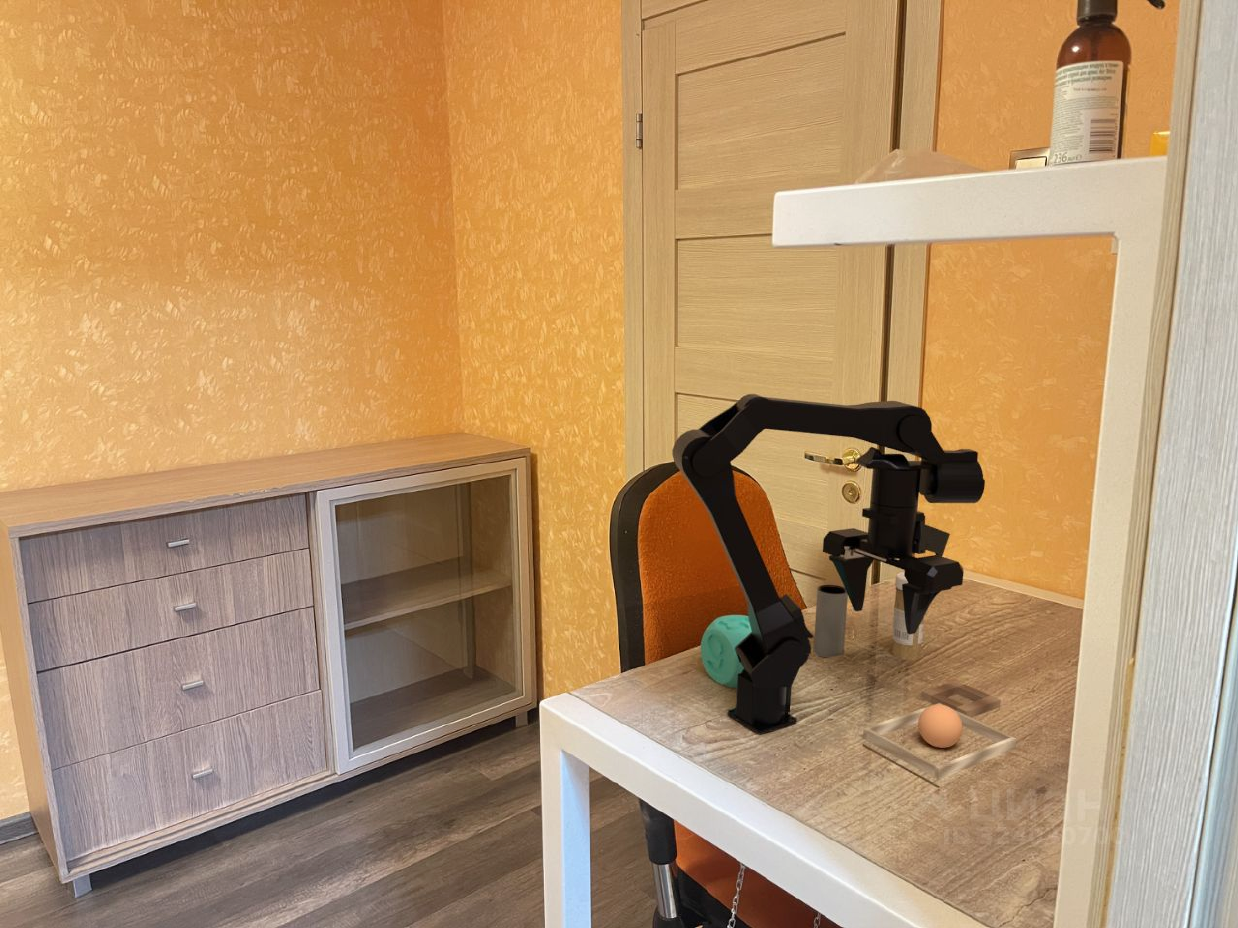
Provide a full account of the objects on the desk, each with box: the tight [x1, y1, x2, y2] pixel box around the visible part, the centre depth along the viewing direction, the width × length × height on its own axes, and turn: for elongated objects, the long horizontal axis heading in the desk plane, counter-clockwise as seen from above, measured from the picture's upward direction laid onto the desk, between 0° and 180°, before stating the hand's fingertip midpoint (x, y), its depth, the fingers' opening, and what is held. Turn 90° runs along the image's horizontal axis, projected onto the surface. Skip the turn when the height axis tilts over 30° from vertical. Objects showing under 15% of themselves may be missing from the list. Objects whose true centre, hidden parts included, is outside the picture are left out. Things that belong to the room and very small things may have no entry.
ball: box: [917, 704, 963, 749], centre depth 106 cm, size 5×5×5 cm
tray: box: [862, 703, 1018, 789], centre depth 107 cm, size 14×11×2 cm
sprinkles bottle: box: [891, 571, 925, 661], centre depth 133 cm, size 5×5×13 cm
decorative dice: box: [700, 614, 752, 689], centre depth 127 cm, size 8×8×8 cm
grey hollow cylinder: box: [813, 584, 849, 659], centre depth 136 cm, size 4×4×10 cm
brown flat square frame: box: [921, 680, 1002, 718], centre depth 118 cm, size 7×7×2 cm
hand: (883, 621), depth 114 cm, fingers open, 9 cm apart
